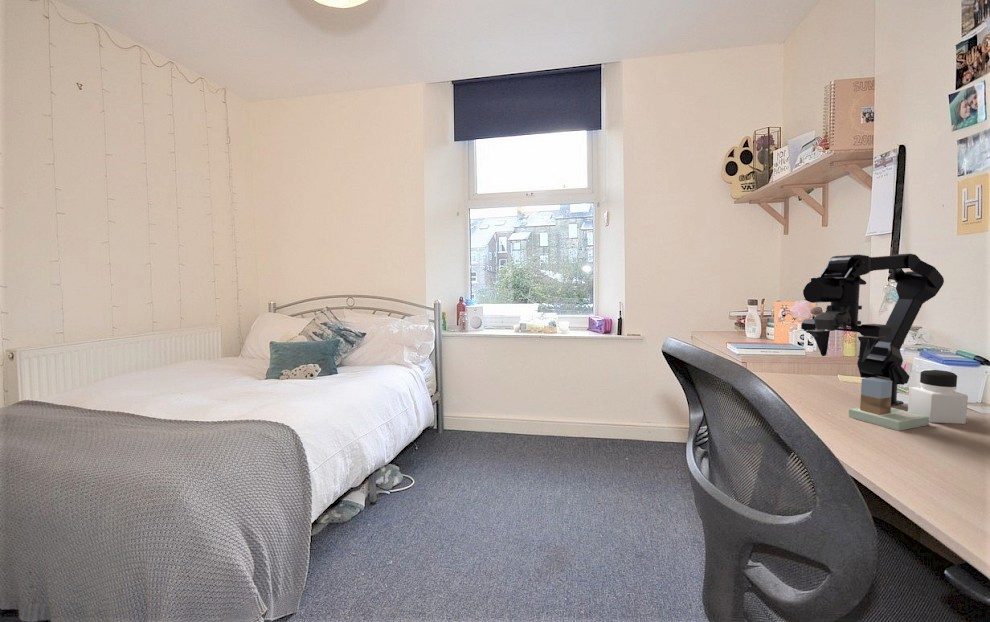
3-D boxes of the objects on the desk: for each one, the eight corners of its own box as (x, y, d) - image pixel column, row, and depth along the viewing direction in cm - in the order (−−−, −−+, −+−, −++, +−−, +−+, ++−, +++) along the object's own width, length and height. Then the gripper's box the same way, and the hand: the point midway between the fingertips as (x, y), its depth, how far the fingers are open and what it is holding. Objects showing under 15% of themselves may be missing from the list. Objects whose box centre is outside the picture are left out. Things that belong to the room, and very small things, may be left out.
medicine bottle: (966, 424, 95) (970, 374, 94) (930, 422, 96) (933, 373, 96) (940, 414, 102) (943, 368, 101) (906, 413, 103) (909, 367, 103)
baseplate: (877, 411, 105) (878, 404, 105) (928, 424, 95) (929, 416, 95) (848, 416, 101) (849, 408, 101) (898, 430, 92) (899, 421, 92)
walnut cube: (870, 408, 101) (871, 392, 101) (890, 413, 98) (891, 397, 97) (860, 410, 100) (860, 394, 100) (879, 415, 96) (880, 398, 96)
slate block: (871, 392, 101) (872, 377, 101) (891, 397, 97) (892, 380, 97) (860, 394, 100) (861, 378, 100) (880, 398, 96) (881, 382, 96)
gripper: (788, 301, 115) (786, 355, 116) (865, 304, 97) (861, 368, 98) (816, 300, 118) (813, 352, 119) (895, 303, 100) (891, 364, 102)
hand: (841, 358), depth 109 cm, fingers open, 9 cm apart
